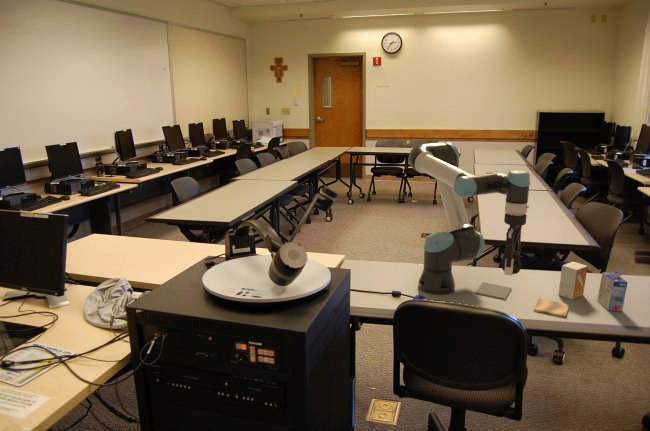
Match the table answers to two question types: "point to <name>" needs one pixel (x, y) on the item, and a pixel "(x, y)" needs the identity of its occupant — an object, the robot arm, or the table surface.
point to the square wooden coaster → (552, 307)
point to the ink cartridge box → (612, 291)
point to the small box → (572, 280)
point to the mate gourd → (516, 262)
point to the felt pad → (493, 290)
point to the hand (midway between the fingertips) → (510, 271)
